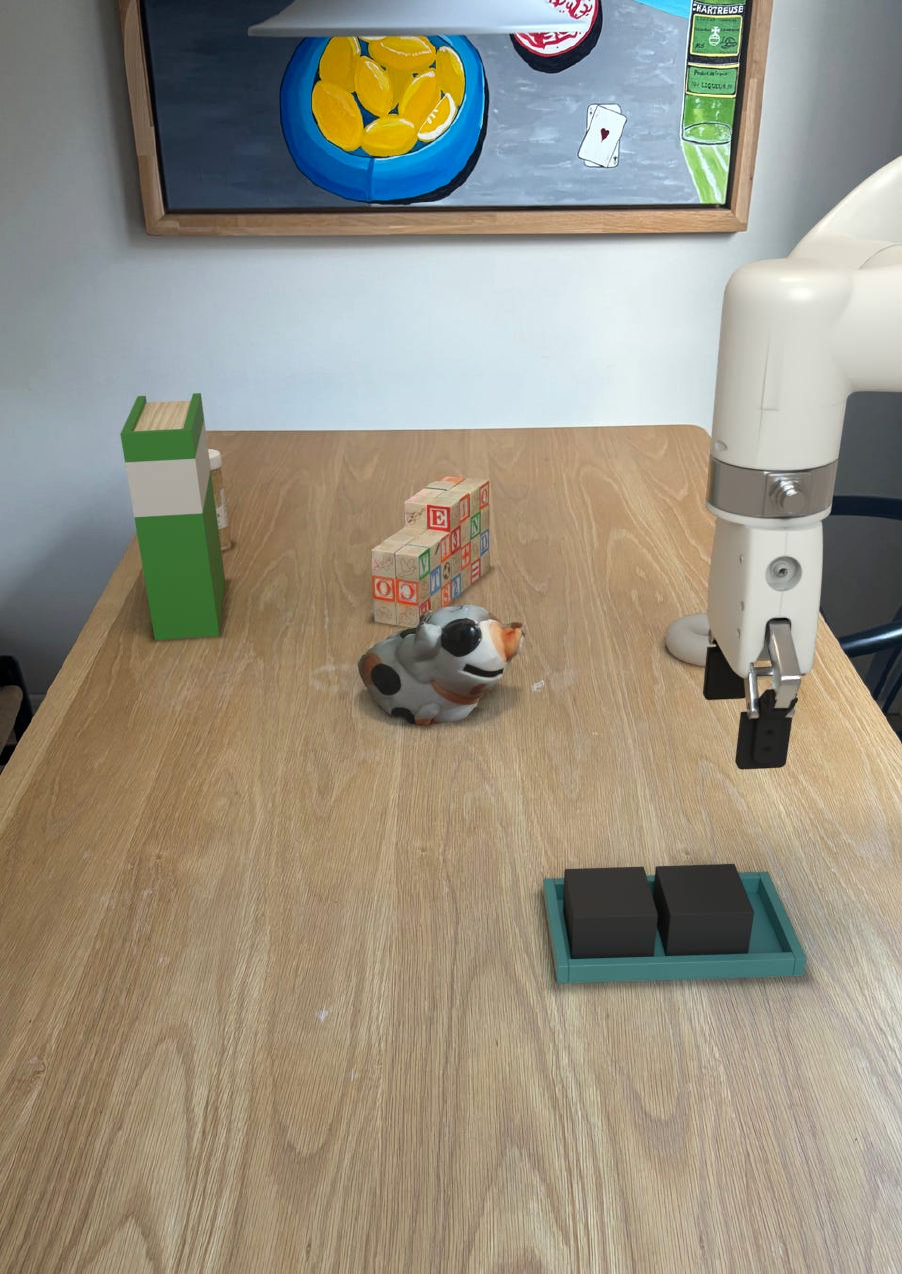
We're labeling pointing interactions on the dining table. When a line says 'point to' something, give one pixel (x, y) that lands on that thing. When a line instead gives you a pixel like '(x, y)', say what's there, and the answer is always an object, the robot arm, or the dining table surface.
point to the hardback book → (175, 516)
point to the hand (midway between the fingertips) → (741, 730)
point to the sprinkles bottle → (219, 498)
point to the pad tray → (766, 957)
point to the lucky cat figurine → (440, 664)
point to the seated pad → (609, 913)
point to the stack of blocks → (432, 551)
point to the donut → (689, 638)
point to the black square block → (702, 910)
